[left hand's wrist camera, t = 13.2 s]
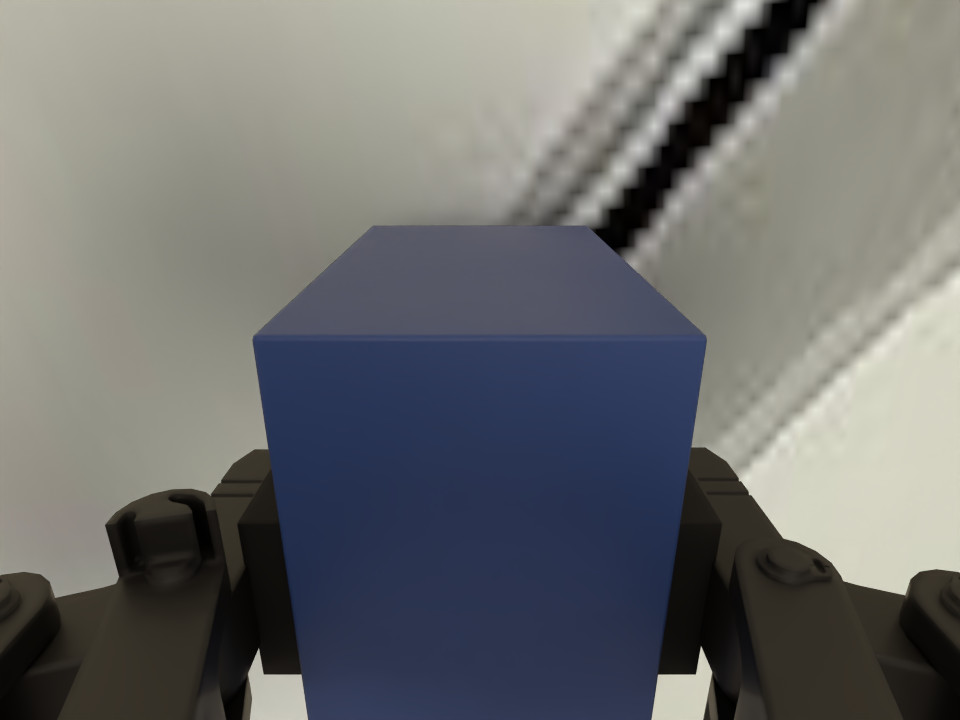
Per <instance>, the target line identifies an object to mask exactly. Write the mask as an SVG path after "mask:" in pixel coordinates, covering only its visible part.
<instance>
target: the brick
mask: <svg viewBox="0 0 960 720" xmlns="http://www.w3.org/2000/svg"><path fill="white" fill-rule="evenodd" d="M706 342H707V339H706V336H705V335H704V334H703V333H702V332H701V331H700V330H699V329H698V328H697V327H696V326H695V325H693V324H692V323H691V322H690V321H689V320H688V319H687V318H686V317H685V316H684V315H683V314H682V313H681V312H679V311H678V310H677V309H676V308H675V307H674V306H673V305H672V304H671V303H670V302H669V301H668V300H666V299H665V298H664V297H663V296H662V295H661V294H660V293H659V292H658V291H657V290H656V289H655V288H653V287H652V286H651V285H650V284H649V283H648V282H647V281H646V280H645V279H644V278H643V277H642V276H640V275H639V274H638V273H637V272H636V271H635V270H634V269H633V268H632V267H631V266H630V265H629V264H627V263H626V262H625V261H624V260H623V259H622V258H621V257H620V256H619V255H618V254H617V253H616V252H614V251H613V250H612V249H611V248H610V247H609V246H608V245H607V244H606V243H605V242H604V241H603V240H601V239H600V238H599V237H598V236H597V235H596V234H595V233H594V232H593V231H592V230H591V229H590V228H588V227H587V226H372V227H371V228H370V229H369V230H368V231H367V232H366V233H365V234H364V235H363V236H361V237H360V238H359V239H358V240H357V241H356V242H355V243H354V244H353V245H352V246H351V247H350V248H348V249H347V250H346V251H345V252H344V253H343V254H342V255H341V256H340V257H339V258H338V259H337V260H335V261H334V262H333V263H332V264H331V265H330V266H329V267H328V268H327V269H326V270H325V271H323V272H322V273H321V274H320V275H319V276H318V277H317V278H316V279H315V280H314V281H313V282H312V283H310V284H309V285H308V286H307V287H306V288H305V289H304V290H303V291H302V292H301V293H300V294H299V295H297V296H296V297H295V298H294V299H293V300H292V301H291V302H290V303H289V304H288V305H287V306H285V307H284V308H283V309H282V310H281V311H280V312H279V313H278V314H277V315H276V316H275V317H274V318H272V319H271V320H270V321H269V322H268V323H267V324H266V325H265V326H264V327H263V328H262V329H261V330H259V331H258V332H257V333H256V334H255V335H254V337H253V346H254V353H255V360H256V367H257V374H258V381H259V387H260V394H261V401H262V408H263V415H264V421H265V428H266V435H267V442H268V449H269V456H270V462H271V469H272V476H273V483H274V490H275V496H276V503H277V510H278V517H279V524H280V531H281V537H282V544H283V551H284V558H285V565H286V571H287V578H288V585H289V592H290V599H291V606H292V612H293V619H294V626H295V633H296V640H297V646H298V653H299V660H300V667H301V674H302V681H303V687H304V694H305V701H306V708H307V715H308V720H651V719H652V712H653V705H654V698H655V691H656V684H657V677H658V671H659V664H660V657H661V650H662V643H663V636H664V630H665V623H666V616H667V609H668V602H669V595H670V589H671V582H672V575H673V568H674V561H675V554H676V548H677V541H678V534H679V527H680V520H681V513H682V507H683V500H684V493H685V486H686V479H687V472H688V466H689V459H690V452H691V445H692V438H693V431H694V425H695V418H696V411H697V404H698V397H699V390H700V383H701V377H702V370H703V363H704V356H705V349H706Z"/></svg>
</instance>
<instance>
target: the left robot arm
mask: <svg viewBox="0 0 960 720" xmlns="http://www.w3.org/2000/svg"><path fill="white" fill-rule="evenodd" d="M105 526H106V530H107V534H108V537H109V541H110V545H111V548H112V552H113V556H114V559H115V563H116V567H117V570H118V574H119V579H118V581H117V583H116V584H114V585H111V586H107V587H104V588H100V589H95V590H90V591H86V592H81V593H76V594H72V595H67V596H63V597H58V598H55V597H54V594H53V591H52V588H51V585H50V582H49V581H48V580H47V579H45V578H44V577H43V576H42V575H40V574H34V573H27V572H21V573H13V574H5V575H0V720H250V712H251V703H252V695H251V688H250V682H249V677H248V672H249V670H250V667H251V665H252V663H253V660H254V658H255V655H256V653H257V651H258V648H259V650H260V656H261V661H262V667H263V673H264V674H301V667H300V660H299V653H298V646H297V640H296V633H295V626H294V619H293V612H292V606H291V599H290V592H289V585H288V578H287V571H286V565H285V558H284V551H283V544H282V537H281V531H280V524H279V517H278V510H277V503H276V496H275V490H274V483H273V476H272V469H271V462H270V456H269V450H253V451H252V452H250V453H249V454H247V455H246V456H244V457H243V458H241V459H240V460H238V461H237V462H235V463H234V464H233V465H232V466H231V468H230V469H229V470H228V472H227V473H226V475H225V476H224V477H223V479H222V480H221V483H219V484H218V485H217V487H216V488H215V490H214V491H213V492H212V494H211V496H210V495H209V494H207V493H206V492H202V491H198V490H194V489H172V490H168V491H163V492H159V493H154V494H151V495H148V496H146V497H143V498H141V499H138V500H136V501H134V502H131V503H130V504H128V505H127V506H125V507H124V508H122V509H121V510H119V511H118V512H116V513H115V514H114V515H113V516H112V518H111V519H110V520H109V521H108V522H107V523H106V525H105ZM701 646H702V649H703V651H704V653H705V656H706V658H707V660H708V663H709V665H710V667H711V670H712V677H711V682H710V688H709V693H708V698H707V703H706V709H705V714H704V719H703V720H960V573H959V572H953V571H945V570H937V569H936V570H929V571H922V572H919V573H918V574H917V575H915V576H914V577H913V578H912V579H911V580H910V583H909V586H908V589H907V592H906V595H900V594H896V593H891V592H886V591H882V590H877V589H872V588H868V587H863V586H858V585H855V584H851V583H848V582H844V581H843V580H842V577H841V576H840V574H839V573H838V571H837V570H836V569H835V567H834V566H833V564H832V563H831V562H830V561H828V560H827V559H826V558H824V557H823V556H822V555H820V554H819V553H818V552H816V551H815V550H812V549H810V548H808V547H806V546H804V545H802V544H800V543H797V542H794V541H790V540H786V539H783V538H782V536H781V535H780V534H779V532H778V531H777V530H776V528H775V527H774V526H773V524H772V523H771V521H770V520H769V519H768V517H767V516H766V515H765V513H764V512H763V511H762V509H761V508H760V507H759V505H758V504H757V502H756V501H755V500H754V498H753V497H752V496H751V495H749V492H748V490H747V489H746V488H745V486H744V485H743V483H742V482H741V481H739V478H738V477H737V475H736V474H735V473H734V471H733V470H732V469H731V467H730V466H729V464H728V463H727V462H726V461H725V460H723V459H722V458H720V457H719V456H717V455H716V454H714V453H713V452H711V451H710V450H708V449H707V448H691V452H690V459H689V466H688V472H687V479H686V486H685V493H684V500H683V507H682V513H681V520H680V527H679V534H678V541H677V548H676V554H675V561H674V568H673V575H672V582H671V589H670V595H669V602H668V609H667V616H666V623H665V630H664V636H663V643H662V650H661V657H660V664H659V671H658V674H696V670H697V665H698V659H699V653H700V648H701Z"/></svg>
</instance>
